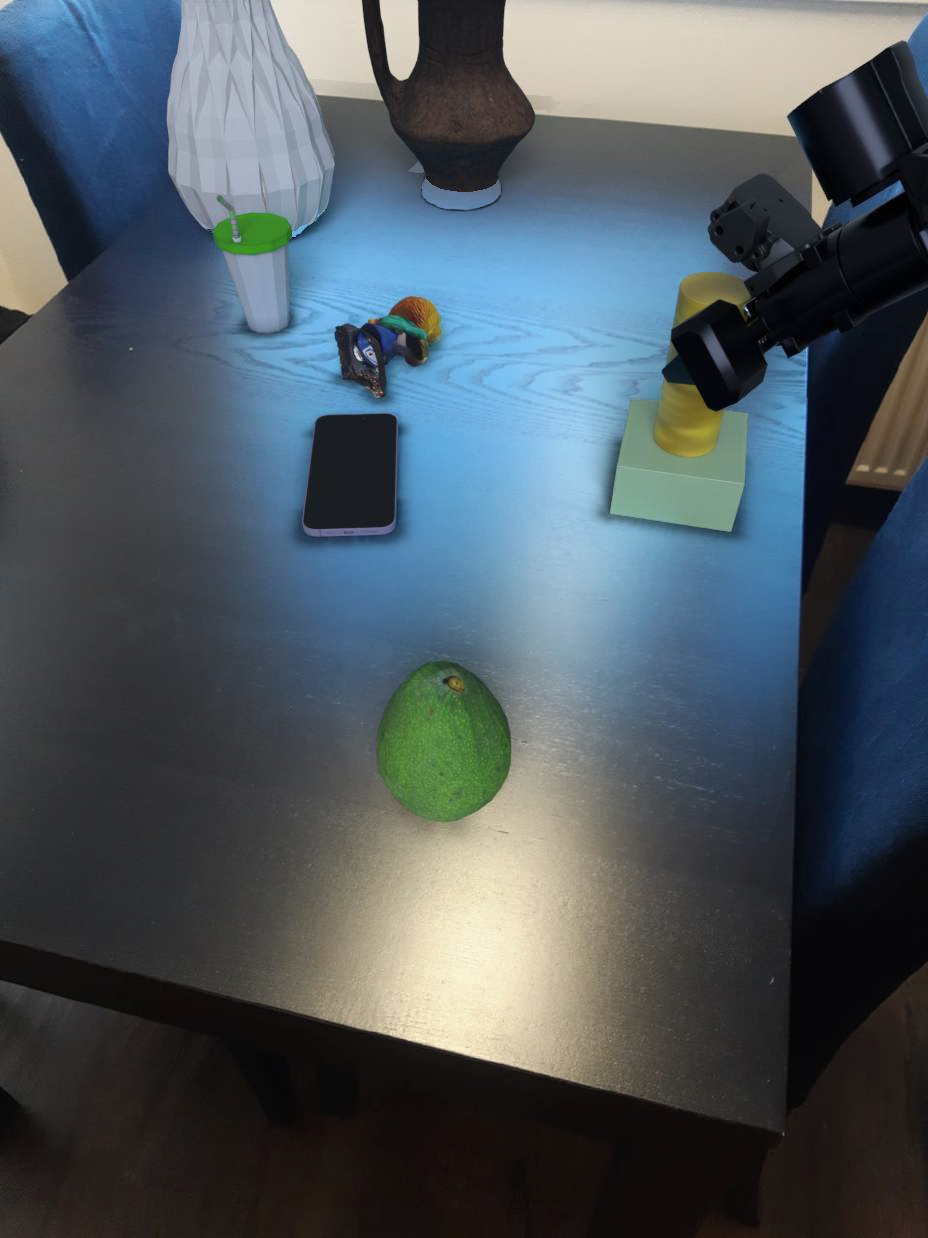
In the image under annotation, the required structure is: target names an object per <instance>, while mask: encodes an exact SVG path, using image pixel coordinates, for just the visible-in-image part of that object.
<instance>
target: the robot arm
mask: <svg viewBox="0 0 928 1238" xmlns="http://www.w3.org/2000/svg"><path fill="white" fill-rule="evenodd" d="M916 64H917V63H916V60H915V58H914V55H913V53H912V51H911V48H910V46H909V44H908V42H907V41H906V40H902V39H901V40H899V41H897V42H895V43H893V44H891V45H889V46H887V47H885V48H884V49H883V50H882V51H880V52H879V53H878V54H876V55H875V56H873V57H872V58H871V59H869V60H868V61H865V63H863V64H861V65H859V66H857V68H855V69H853V70H852V71H851V72H849V73H848V74H846V75H844V76H842V77H840V78H838V79H836V80H834V81H833V82H830V83H829V84H827V85H824V86H823V87H821V88H820V89H818V90H817V91H815V92H814V93H813V94H812V95H810V96H809V97H807V98H806V99H805V100H804V101H802V102H801V103H800V104H798V105H797V106H796V107H795V108H794V109H792V110H791V111H790V112H789V113H788V114H787V115H786V118H787V120H788V124H789V125H790V127H791V129H792V131H793V133H794V135H795V137H796V139H797V141H798V143H799V145H800V147H801V150H802V152H803V153H804V156H805V157H806V159H807V162H808V163H809V166H810V167H811V169H812V171H813V173H814V175H815V178H816V179H817V182H818V184H819V185H820V188H821V190H822V192H823V194H824V196H825V198H826V200H827V202H830V201H832V203H833V205H834V207H835V208H837V207H839V206H840V205H842V204H843V203H846V202H847V201H848V202H849V204H850V206H851V208H852V209H853V208H856V207H857V206H859V205H861V204H863V203H865V202H866V201H868V200H870V199H871V198H873V197H875V196H876V195H878V194H879V193H881V192H883V191H884V190H886V189H887V188H889V187H891V186H893V185H895V184H896V183H897V182H900V184H901V186H902V188H903V190H902V191H901V192H899V193H898V194H895V195H894V196H892V197H891V198H889V199H887V200H886V201H884V202H882V203H880V204H879V205H877V206H875V207H874V208H871V209H870V210H868V211H867V212H865V213H863V214H861V215H860V216H858V217H857V218H855V219H853V220H851V221H850V220H848V221H846V222H845V223H843V222H842V221H841V220H838V221H837V222H835V223H834V224H832V225H830V226H829V227H827V228H825V229H824V228H822V227H821V226H820V225H819V224H818V222H817V221H816V220H815V219H814V218H813V216H812V214H811V213H810V211H808V209H807V208H806V207H805V206H804V205H803V204H802V203H801V202H800V201H799V200H798V199H797V198H795V196H793V195H792V194H791V193H790V192H789V191H788V190H787V189H786V188H785V187H784V186H783V185H782V184H781V183H780V182H778V180H777V179H775V178H774V177H773V176H771V175H769V174H767V173H758V174H756V175H755V176H752V177H751V178H749V179H747V180H746V181H743V182H741V184H739V185H737V186H735V187H734V188H733V189H732V191H731V192H730V193H729V195H728V197H727V198H726V200H725V202H723V204H722V205H720V206H718V207H716V208H715V209H713V210H712V211H711V212H710V215H709V220H710V223H709V225H708V226H707V233H708V235H709V241H710V243H711V244H712V245H713V246H714V247H715V248H716V249H717V250H718V251H719V252H720V253H721V254H723V255H724V257H725V258H727V260H728V261H730V262H731V263H733V264H736V263H737V264H739V263H740V264H742V266H744V268H746V269H747V270H749V271H751V272H754V274H753V275H751V276H749V277H747V278H746V279H744V280H745V281H743V282H744V284H745V286H746V288H747V290H748V292H749V294H750V296H751V297H752V300H750V301H749V302H748V303H746V304H745V305H743V307H742V310H743V312H744V314H745V316H746V317H747V321H746V322H745V320H744V318H743V316H742V314H741V312H740V310H739V308H738V307H737V305H735V304H732V303H730V302H727V301H724V300H721V299H718V300H717V301H715V302H713V303H711V304H710V305H708V306H706V307H705V308H703V309H702V310H700V311H698V312H697V313H695V314H694V315H692V316H691V317H689V318H688V319H686V320H685V321H683V322H682V323H680V324H679V325H677V326H676V327H674V328H673V329H672V328H671V329H670V337H671V342H672V344H673V346H674V347H675V349H676V351H677V353H678V355H677V356H676V357H675V358H674V359H673V360H672V361H670V362H669V363H668V364H667V365H666V364H665V365H666V366H665V365H664V367H663V368H662V369H661V374H662V376H664V378H665V379H666V381H667V382H668V383H677V384H686V385H695V386H696V388H697V390H698V391H699V393H700V395H701V397H702V399H703V401H704V402H705V404H706V406H707V408H708V409H710V410H713V411H715V412H717V411H720V410H722V409H724V408H725V409H727V408H729V407H731V406H733V405H735V404H738V403H739V402H740V401H741V400H742V399H744V398H745V397H746V396H748V395H749V394H750V393H751V392H752V391H753V390H754V389H756V388H757V387H759V386H761V384H762V383H763V382H764V380H765V377H766V373H767V369H768V367H769V366H768V362H767V359H766V357H765V355H766V354H767V353H768V352H770V351H771V350H772V349H773V348H775V347H781V349H782V350H783V352H784V354H785V355H786V356H785V357H786V359H790V358H792V357H795V356H796V355H799V354H800V353H802V352H804V350H806V349H807V348H808V347H810V346H811V345H812V344H813V343H814V342H815V341H817V340H819V339H821V338H824V337H826V336H828V335H830V334H832V333H834V332H836V331H839V333H840V334H844V333H846V332H848V331H850V330H851V329H854V328H856V327H857V326H858V325H860V324H861V323H862V322H863V321H864V320H865V319H867V318H868V317H869V316H871V315H872V314H874V313H877V312H878V311H880V310H882V309H884V308H886V307H889V306H891V305H894V304H895V303H897V302H899V301H902V300H904V299H906V298H907V297H910V296H912V295H914V294H916V293H918V292H920V291H923V290H924V289H927V288H928V96H927V93H926V91H925V89H924V86H923V85H922V83H921V80H920V78H919V74H918V70H917V65H916Z"/></svg>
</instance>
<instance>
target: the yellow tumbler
mask: <svg viewBox="0 0 928 1238" xmlns="http://www.w3.org/2000/svg"><path fill="white" fill-rule="evenodd" d="M745 280H746V279H743V278H741V277H739V276H737V275H734V274H730V273H725V272H718V271H703V272H696V273H692V274H689V275H687V276H686V277H684V278H683V279H682V280H681V281H680V283H679V287H678V293H677V298H676V302H675V303H676V304H675V309H674V315H673V321H672V326H671V330H672V329H673V328H674V327H676V326H677V325H679V324H680V323H682V322H683V321H685V320H686V319H688V318H689V317H691V316H692V315H694V314H695V313H697V312H698V311H700V310H702V309H703V308H705V307H706V306H708V305H710V304H711V303H713V302H715V301H717V300H718V299H721V300H724V301H727V302H730V303H732V304H735V305H737V307H738V308H739V310H740V312H741V314H742V316H743V318H744V320H745V322H746V321H747V317H746V316H745V314H744V312H743V310H742V307H743V305H745V304H746V303H748V302H749V301H750V300H752V297H751V296H750V294H749V292H748V290H747V288H746V286H745V284H744V282H743V281H745ZM667 348H668V349H667V355H666V359H665V365H664V367H665V366H666V365H667V364H668V363H669V362H670V361H672V360H673V359H674V358H675V357H676V356H677V355H678V353H677V351H676V349H675V347H674V346H673V344H672V342H671V336H670V337H669V344H668V347H667ZM662 376H663V375H662ZM658 402H659V404H658V410H657V416H656V421H655V427H654V433H653V437H654V441H655V442H656V444H657V445H658V446H659V447H660V448H661V449H663V450H664V451H666V452H668V453H670V454H673V455H677V456H682V457H698V456H703V455H706V454H708V453H710V452H711V451H712V450H713V449H714V448H715V447H716V445H717V441H718V437H719V433H720V429H721V424H722V420H723V416H724V412H725V410H726V408H724V409H722V410H720V411H717V412H715V411H713V410H710V409H708V408H707V406H706V404H705V402H704V401H703V399H702V397H701V395H700V393H699V391H698V390H697V388H696V386H695V385H686V384H677V383H668V382H667V381H666V379H665V378H664V376H663V377H662V382H661V387H660V394H659V400H658Z"/></svg>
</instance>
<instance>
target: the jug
mask: <svg viewBox="0 0 928 1238" xmlns="http://www.w3.org/2000/svg"><path fill="white" fill-rule="evenodd" d="M506 3H507V0H417V26H418V28H417V29H418V51H417V57H416V61H415V64H414V66H413V68H412V70H411V72H410V74H409V76H408V77H407V78H405V79H402V80H400V79H398V78H397V77H396V76H395V75H394V74H393V73H392V71H391V69H390V64H389V60H388V59H389V58H388V53H387V44H386V36H385V27H384V22H383V19H382V13H381V12H382V10H381V0H361V7H362V17H363V25H364V33H365V39H366V46H367V52H368V56H369V60H370V64H371V69H372V74H373V77H374V79H375V83H376V85H377V89H378V90H379V94H380V97H381V98H382V101H383V102H384V105H385V107H386V109H387V111H388V116H389V122H390V124H391V127H392V129H393V131H394V132H395V134H396V135H397V136H398V137H399V139H400V140H401V141H402V143H404V144H405V146H406V147H407V149H409V150H410V152H411V153H412V154H413V156H415V158H416V159H417V161H418V162H419V164H420V165H421V166H422V169H423V171H424V174H425V176H424V178H425V177H426V179H427V180H428V181H429V182H430V183H431V184H432V185H434V186H436V187H438V188H440V189H444V190H450V191H457V192H473V191H478V190H483V189H487V188H489V187H491V186H493V185H494V184H496V182H497V180H498V178H499V172H500V170H501V168H502V167H503V165H504V163H505V162H506V161H507V159H508V157H509V156H510V155H511V153H512V152H513V151H514V150H515V149H516V147H517V146H518V144H520V142H521V141H522V140H524V138H525V137H526V136H528V135H529V133H530V132H531V130H533V127H534V124H535V121H536V112H535V110H534V108H533V105H532V103H531V101H530V100H529V98H528V97H527V95H526V94H525V92H524V91H523V89H522V88H521V87H520V85H519V84H518V83H517V82H516V80H515V78H514V77H513V75H512V74H511V72H510V70H509V68H508V67H507V65H506V62H505V59H504V29H505V27H504V26H505V10H506Z"/></svg>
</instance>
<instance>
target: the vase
mask: <svg viewBox="0 0 928 1238" xmlns="http://www.w3.org/2000/svg"><path fill="white" fill-rule="evenodd" d="M180 2H181V3H180V4H181V5H180V7H181V21H180V22H181V23H180V31H179V39H178V45H177V52H176V56H175V58H174V61H173V64H172V68H171V76H170V87H169V93H168V98H167V104H166V126H167V134H168V157H167V159H168V161H167V163H168V164H167V165H168V166H167V167H168V170H167V172H168V174H169V176H170V179H171V180H172V183H173V184H174V186H175V189H176V190H177V192H178V194H179V196H180V199H181V200H182V202H183V203H184V205H185V206H186V208H187V210H188V211H189V213H190V214H191V215H192V216H193V217H194V219H195V220H196V221H197V223H198V224H199V225H200V226H201V227H202V228H203V229H205V230H207V229H214V228H215V227H216V226H217V224H218V223H219V222H221V221H223V220H225V219H228V218H230V214H229V211H228V209H227V208H225V207H224V206H223V205H222V204H221V203H219V202H218V201H217V196H218V195H220V196H222V197H223V198H224V199H225V200H226V201H227V202H228V203H230V204H231V205H232V206H233V208H234V210H235V215H241V214H247V213H272V214H275V215H278V216H281V217H284V218H286V219H287V221H288V222H289V224H290V225H291V229H292V232H293V231H296V230H298V228H299V227H300V226H302V225H305V224H308V223H310V224H312V223H313V222H314V221H315V222H317V220H318V219H317V215H318V214H320V213H321V212H324V213H325V211H326V210H325V209H327V207H328V205H329V201H330V197H331V190H332V185H333V184H332V183H333V178H334V171H335V164H336V163H335V157H336V156H335V154H336V153H335V150H334V148H333V144H332V142H331V139H330V136H329V133H328V130H327V129H326V126H325V124H324V123H325V122H324V118H323V114H322V109H321V104H320V102H319V100H318V97H317V94H316V92H315V88H314V87H313V85H312V84H311V82H310V80H309V79H308V77H307V74H306V71H305V69H304V68H303V65H302V63H301V61H300V58H299V57H298V55H297V53H296V52H295V51H294V50H293V48H292V47H291V46H290V44H289V43H288V41H287V37H286V36H285V34H284V32H283V29H282V27H281V25H280V23H279V20H278V17H277V15H276V13H275V10H274V7H273V5H272V2H271V0H181V1H180Z"/></svg>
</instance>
